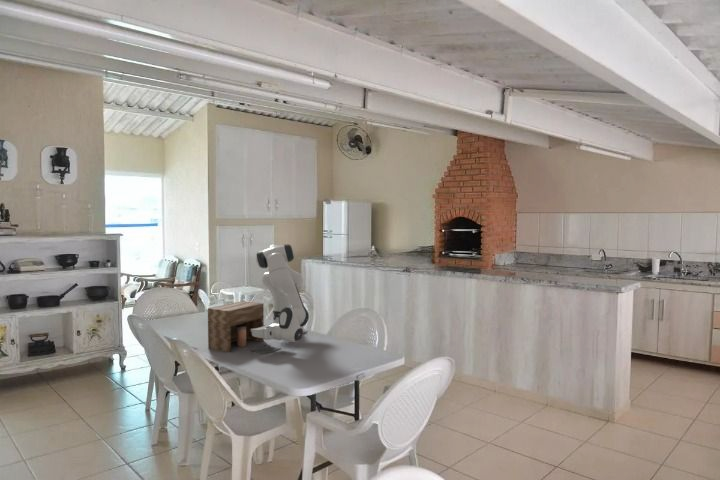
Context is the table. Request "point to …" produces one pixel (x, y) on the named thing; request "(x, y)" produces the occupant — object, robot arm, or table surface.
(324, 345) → the table surface
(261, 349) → the mat
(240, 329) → the canister
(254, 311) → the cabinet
